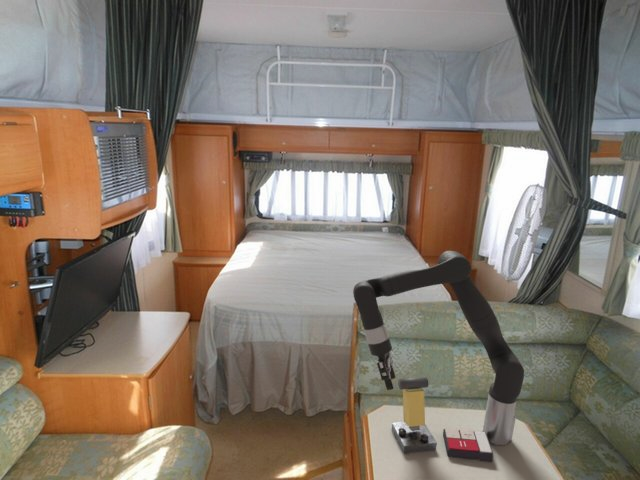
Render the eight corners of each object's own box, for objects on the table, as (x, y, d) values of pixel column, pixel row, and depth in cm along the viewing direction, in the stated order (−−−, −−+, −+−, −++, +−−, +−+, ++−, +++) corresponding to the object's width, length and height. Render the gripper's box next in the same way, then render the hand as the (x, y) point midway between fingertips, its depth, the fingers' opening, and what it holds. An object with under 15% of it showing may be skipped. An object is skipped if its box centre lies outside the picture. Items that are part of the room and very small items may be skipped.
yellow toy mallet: (424, 424, 155) (423, 375, 156) (430, 430, 150) (429, 379, 151) (398, 427, 153) (397, 377, 154) (403, 433, 149) (402, 381, 149)
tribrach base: (421, 426, 160) (422, 416, 159) (435, 449, 149) (437, 439, 148) (391, 429, 158) (392, 419, 157) (403, 453, 146) (404, 443, 145)
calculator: (443, 426, 156) (486, 430, 153) (442, 436, 157) (485, 440, 155) (447, 448, 145) (493, 452, 143) (447, 458, 146) (492, 463, 144)
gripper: (386, 343, 137) (400, 391, 137) (390, 329, 150) (403, 373, 151) (364, 348, 139) (378, 395, 139) (370, 334, 152) (383, 376, 153)
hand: (391, 383), depth 145 cm, fingers open, 8 cm apart
